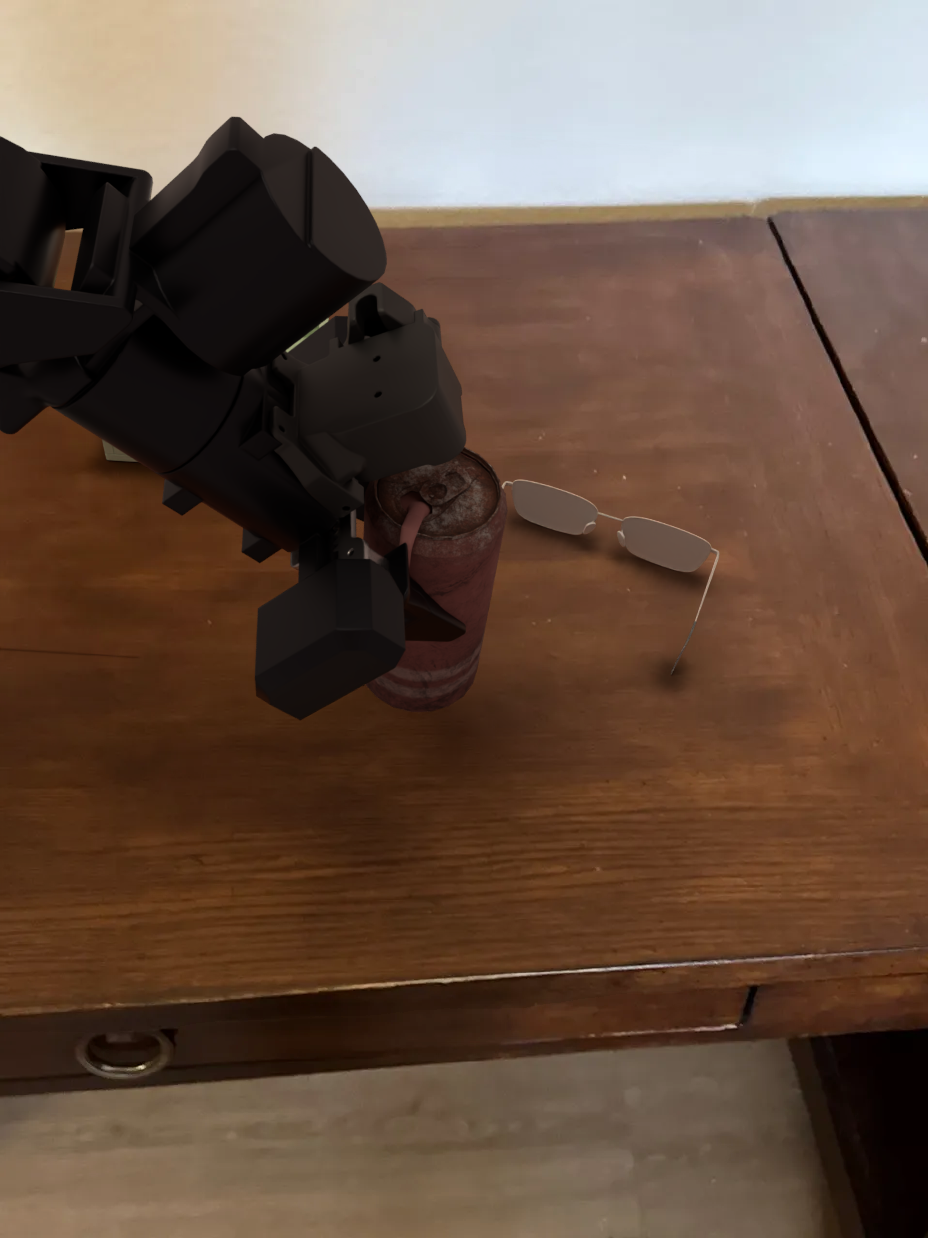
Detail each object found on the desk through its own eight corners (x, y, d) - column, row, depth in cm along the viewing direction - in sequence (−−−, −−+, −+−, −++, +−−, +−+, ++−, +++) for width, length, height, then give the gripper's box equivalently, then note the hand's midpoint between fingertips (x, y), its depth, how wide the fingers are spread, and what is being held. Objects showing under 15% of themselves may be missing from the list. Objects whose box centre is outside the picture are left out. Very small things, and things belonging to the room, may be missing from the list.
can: (340, 703, 61) (344, 525, 49) (378, 606, 64) (390, 418, 53) (457, 736, 60) (488, 563, 49) (488, 636, 64) (524, 453, 53)
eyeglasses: (710, 580, 76) (724, 541, 72) (675, 683, 71) (689, 647, 68) (500, 510, 78) (505, 469, 74) (455, 606, 74) (457, 568, 70)
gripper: (346, 486, 37) (628, 686, 47) (342, 144, 48) (570, 364, 58) (118, 638, 43) (414, 789, 53) (162, 299, 54) (399, 476, 64)
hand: (455, 589), depth 57 cm, fingers closed on can, 5 cm apart
